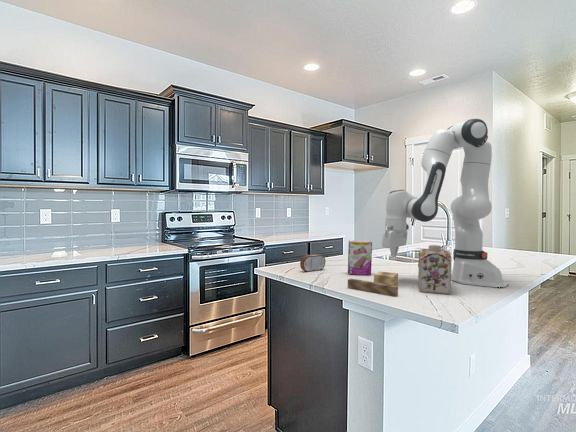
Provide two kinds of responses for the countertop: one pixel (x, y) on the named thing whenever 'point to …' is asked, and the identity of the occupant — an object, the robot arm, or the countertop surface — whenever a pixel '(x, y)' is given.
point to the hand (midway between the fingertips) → (393, 256)
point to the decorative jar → (434, 270)
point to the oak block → (386, 278)
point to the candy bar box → (359, 257)
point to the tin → (312, 262)
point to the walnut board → (373, 287)
